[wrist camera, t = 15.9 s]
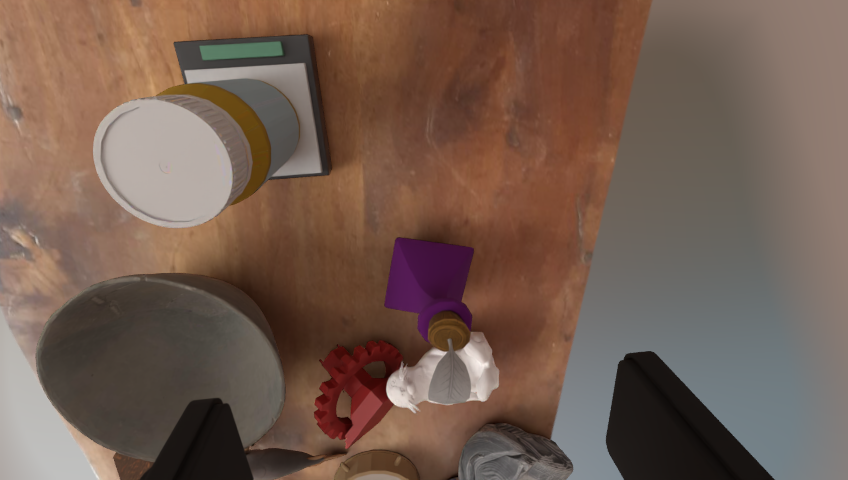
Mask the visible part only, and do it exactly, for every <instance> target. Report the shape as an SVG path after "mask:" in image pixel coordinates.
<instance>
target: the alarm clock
mask: <svg viewBox="0 0 848 480" xmlns="http://www.w3.org/2000/svg"><path fill="white" fill-rule="evenodd" d="M340 465H341V466H340V467H339V468H338V470H337V472H336V475H335V477H334V480H419V476H418V473H417V470H416V468H415V467H414V465H413V464H412V463H411V462H410V461H409V460H408V459H406V458H405V457H403V456H401V455H400V454H398V453H394V452H390V451H386V450H371V451H367V452H363V453H359V454H357V455H355V456H353V457H351V458H350V459H348V460H346V461H345V462H344V463H343V462H342V463H341V464H340Z"/></svg>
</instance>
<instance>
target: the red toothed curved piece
mask: <svg viewBox="0 0 848 480" xmlns="http://www.w3.org/2000/svg"><path fill="white" fill-rule="evenodd" d="M337 346H338V348H337V349H334V350H332V351H331V352H330V353H329V355H328V356H327V358H326V359H325V360H324V362H323V361H322V360H321V359H320V360H319V361H320V362H321V363H322V365H323V367H324V368H325V369H326V370H327V371H328V372H329V374H330V376H331V377H332V378H331V380H330V381H326V382H322V384H321V386H320V388H319V389H320V390H321V391H322V392H323V393H324V394H323V395H321V396H319V397H317V398H316V400H315V405H316V406H317V408H318V410H316V411H315V412H314V417H315V419H316V420H317V421H318V423H317V425H318V426H319V427H320V429H321V430H322V431H323V432H324V433H325V434H327V435H328V436H329V437H330V438H332V439H335V438H336V437H338V438H339V439H340V440H343V439H346V438H347V439H346V440H345V442H346V446H345V448H346V449H348V448H349V447H350V446H351V445H353V444H354V443H355V442H356V441H357V440H359V439H360V438H361V437H362V436H363V435H365V434H366V433H367V432H368V431H369V430H371V429H372V428H373V427H374V426H375V425H377V424H378V423H379V422H380V421H381V420H382V418H383V417H384V416H385V415H386V413H387V412H388V411H389V410H390V408H391V407H392V406H393V405H394V404H393V403H392V402H391V401H390V399H389V398H388V396H387V392H386V385H387V381H388V379H389V377H390V376H391V374H392V373H394V372H395V371H396V370H398V369H400V368H401V361H402V360H403V356H402V355H401V354H400V353H399V352H398V351H399V350H398V349H396V348H395V347H394V346H392V345H391V344H390V343H388V344H387V343H386V342H385V341H382V340H379V342H378V343H375V342H374V341H369V342H367V345H366V347H365V349H364V348H363V347H362V346H360V345H359V346H357V347H355V348H354V353H353V356H352V355H350V353H349V352H348V351H347V350H346V349H345V348H344V347H343V346H342V347H340V346H339V345H338V344H337ZM375 361H384V363H385V367H386V373H385V378H372V377H371V375H369V374H368V373H367V372H366V371H365V369H364V368H363V367H364V366H365V365H367V364H369V363H372V362H375ZM402 366H403V368H404V364H403V363H402ZM343 389H344V390H345V391H346V392H347V393H348V394H349V396H350V397H351V398H352V400H351V416H350V418H351V420H350V419H349V418H348V417H344V418H341V417H337V414H336V405H337V401H338V398H339V395H340V393H341V391H342V390H343ZM343 392H344V391H343Z"/></svg>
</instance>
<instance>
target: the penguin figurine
mask: <svg viewBox="0 0 848 480" xmlns="http://www.w3.org/2000/svg"><path fill="white" fill-rule="evenodd" d="M446 353H447V352H442V351H440V350H438V349H436V348H434V347H433V348H431V349H430V350H429V351H428V352H426V353H425V354H424V355H423V357H422V358H421V359H420V360H419V361H418V363H417V364H416V365H415V366H413V367H405V368H403V366H402V363H401V368H400V369H398V370H396V371H395V372H394V373H392V374H391V376H390V377H389V379H388V381H387V385H386V392H387V396H388V398H389V399H390V401H391V402H392V403H393V404H395V405H396V406H398V407H404V408H405V407H408V408H409V409H410V410H411V411H413V410H414V409H413V407H414V408H415V409H417V407H416V406H415V405H416V404H419V403H420V402H422V401H424V400H426V401H428V402H431V403H437V402H434V401H430V400H429V399H428V392H429V386H430V382H431V379H432V376H433V373H434V371H435V369H436V366H437V364H438V362H439V361H440V360H441V359H442V358H443V357H444V355H445V354H446ZM455 353H456V354H457V355H458V356H459V358H460V359H461V360H462V361H463V362H464V364H465V365H466V367H467V370H468V373H469V377H470V381H471V393H470V398H469V399H468V400H467V401H471V400H477V401H478V400H480V401H482V402H484V401H486V400H487V399H488V398H489V396H490V394H491V392H492V390H493V389H496V388H498V386H499V369H498V368H497V367H496V366H495V363H494V359H493V356H492V349H491V347H490V346H489V344H488V342H487V340H486V339H485V337H484V334H483V332H471V335H470V342H469V343H468V344H467V345H466V346H465V347H464V348H463V349H460V350H458V351H455ZM402 362H403V361H402ZM403 364H404V363H403ZM406 366H407V365H406ZM474 392H477V394H476V393H474ZM438 404H441V403H438ZM444 405H451V404H444ZM412 409H413V410H412ZM417 410H418V409H417ZM414 411H415V410H414ZM414 411H413V412H414ZM418 411H419V410H418ZM415 412H416V411H415ZM415 412H414V413H415ZM416 413H417V412H416ZM416 413H415V414H416Z"/></svg>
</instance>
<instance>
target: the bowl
mask: <svg viewBox="0 0 848 480" xmlns="http://www.w3.org/2000/svg"><path fill="white" fill-rule="evenodd" d="M36 367H37V374H38V377H39V380H40V383H41V385H42V387H43V390H44V392H45V393H46V395H47V397H48V399H49V400H50V402H51V403H52V405H53V406H54V407H55V408H56V409H57V411H58V412H59V413H60V414H61V415H62V416H63V417H64V418H65V419H66V420H67V421H68V422H69V423H70V424H71V425H73V426H74V427H75V428H76V429H77V430H79V431H80V432H81V433H82V434H84V435H85V436H87V437H88V438H90V439H91V440H93V441H94V442H96V443H98V444H99V445H101V446H103V447H105V448H108V449H110V450H112V451H116V452H117V453H119V454H122V455H126V456H129V457H133V458H136V459H142V460H145V461H150V462H155V460H156V458H157V457H158V455H159V453H160V451H161V450H162V448H163V446H164V445H165V443H166V441H167V439H168V438H169V436H170V434H171V433H172V431H173V429H174V427H175V426H176V424H177V422H178V421H179V419H180V417H181V415H182V414H183V412H184V410H185V409H186V407H187V405H188V404H189V403H190V402H191V401H192V400H200V399H209V398H220V399H221V400H222V402H223V404H224V403H228V404H229V405H230V407H231V410H232V413H233V417H234V420H235V423H236V426H237V429H238V432H239V435H240V438H241V441H242V444H243V447H244V449H246V448H248V447H249V446H251V445H252V444H254V443H255V442H256V441H258V440H259V439H260V438H261V437H262V436H263V435H264V434H265V433H267V432H268V431H269V429H270V428H271V427H272V426H273V424H274V423H275V422H276V421H277V419H278V418H279V416H280V414H281V412H282V409H283V406H284V402H285V393H286V389H285V379H284V371H283V366H282V362H281V359H280V355H279V352H278V348H277V345H276V342H275V339H274V336H273V333H272V331H271V328H270V326H269V324H268V322H267V320H266V318H265V316H264V315H263V313H262V311H261V310H260V308H259V307H258V305H257V304H256V303H255V302H254V301H253V300H252V299H251V298H250V297H249V296H248V295H247V294H246V293H244V292H243V291H241V290H240V289H238V288H237V287H235V286H233V285H231V284H229V283H227V282H225V281H222V280H219V279H215V278H211V277H207V276H203V275H196V274H186V273H160V274H138V275H129V276H123V277H118V278H114V279H110V280H107V281H103V282H100V283H97V284H95V285H92V286H90V287H88V288H87V289H85V290H83V291H82V292H81V293H79V294H78V295H77V296H75V297H73V298H71V299H70V300H69V301H67V302H66V303H65V304H64V305H63V306H62V307H61V308H59V309H58V310H57V311H56V312H55V313H53V314H52V316H51V317H50V318H49V320H48V321H47V322H46V325H45V327H44V329H43V332H42V334H41V336H40V339H39V341H38V344H37V348H36Z"/></svg>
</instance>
